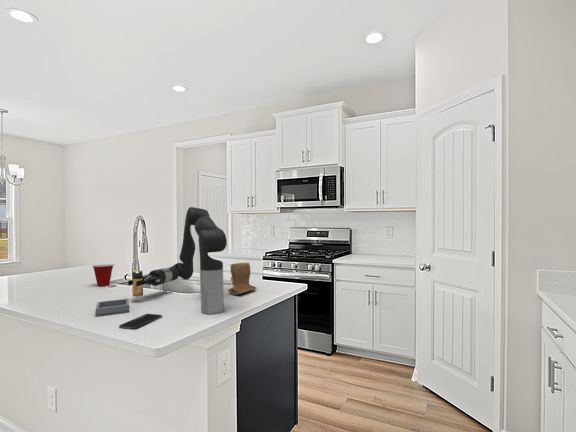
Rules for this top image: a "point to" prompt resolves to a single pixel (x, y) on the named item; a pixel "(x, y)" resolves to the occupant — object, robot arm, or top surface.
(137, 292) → the battery cell
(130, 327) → the phone
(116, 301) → the tray
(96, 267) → the plastic cup
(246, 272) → the brown boot
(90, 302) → the top surface
